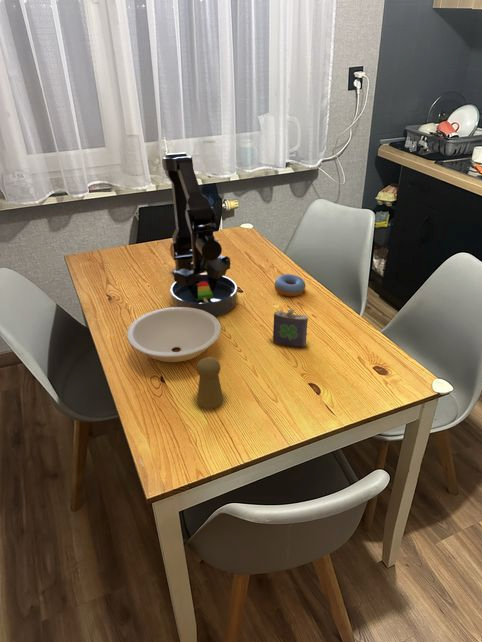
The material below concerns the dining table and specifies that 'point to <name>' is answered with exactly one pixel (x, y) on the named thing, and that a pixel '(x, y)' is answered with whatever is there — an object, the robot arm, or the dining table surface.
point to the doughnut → (289, 285)
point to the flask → (290, 329)
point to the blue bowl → (217, 306)
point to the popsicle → (204, 292)
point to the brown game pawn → (209, 384)
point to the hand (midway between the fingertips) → (204, 294)
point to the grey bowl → (174, 333)
